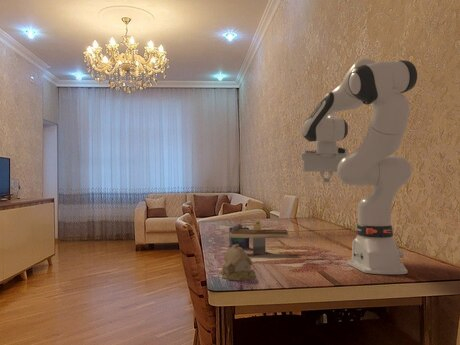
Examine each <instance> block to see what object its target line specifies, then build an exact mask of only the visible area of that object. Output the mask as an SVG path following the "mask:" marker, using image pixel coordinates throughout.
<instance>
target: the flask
mask: <svg viewBox="0 0 460 345" xmlns="http://www.w3.org/2000/svg"><path fill="white" fill-rule="evenodd" d="M241 224H242V223H241V222H239V223H237V224H236V226H238V229H250V228H249V227H247V226H245V225H244V226H243V225H241ZM228 228H229V229H228V230H229V232H228V235H229V237H228V239H229V244H228V245H229V248H231V247H232V245H235V244H239V247H241V248H243V249H248V248H250V238H230V233H231V231H232V226H229V227H228Z"/></svg>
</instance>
